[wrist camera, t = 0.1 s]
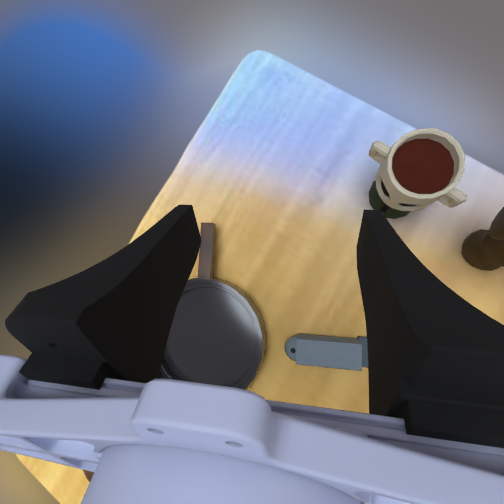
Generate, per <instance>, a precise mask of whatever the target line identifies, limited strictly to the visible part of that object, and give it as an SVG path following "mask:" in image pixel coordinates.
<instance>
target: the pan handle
mask: <svg viewBox="0 0 504 504" xmlns="http://www.w3.org/2000/svg"><path fill="white" fill-rule="evenodd" d="M200 237H201V244H200V252H199V269H198V279H206V280H207V279H208V280H209V279H212V273H213V255H214V238H215V224H214V223H201V236H200Z"/></svg>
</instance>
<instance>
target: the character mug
mask: <svg viewBox="0 0 504 504" xmlns="http://www.w3.org/2000/svg"><path fill="white" fill-rule="evenodd" d="M369 156H370V157H371V158H372V159H373V160H375V161H377V162H378V163H380V164H381V166H380V168H379V170H378V172H377V174H376V180H375V181H374V182H373V185H372V187H371V189H370V191H369V202H370V204H371V206H372V208H373V209H374V210H379V209H381V210H382V211H384V212H385V213H384V216H385V217H386V218H393V219H395V218H399V217H403V216H406V215H407V214H408V213H410V212H411V211H416V210H420V209H423V208H425V207H426V206H428V205H430V204H432V203H433V202H435V201H436V200H438V201H440V202H441V203H443V204H444V205H446V206H448V207H455V206H457V205H459V204H461V203H463V202H465V201H466V198H467V195H465V194H464V193H463V192H461V191H460V190H458V189H457V188H455V186H456V185H457V184H458V183H459V181H460V179H461V177H462V175H463V173H464V171H465V155H464V153H463V150H462V148H461V146H460V143H459V142H458V141H456V140H455V139H454V138H453V137H452V136H451V135H450V134H449V133H446V132H443V131H440V130H437V129H434V128H433V129H417V130H415V131H412V132H410V133H407V134H405V135H404V136H402V137H401V138H400V139H399V140H398V141H397V142H396V143H395V144H394V145H393V146H392V147H391V148H390V147H389V146H387V145H386V144H384V143H382V142H380V141H376V142H374V143H373V144H372V146H371V148H370V150H369Z"/></svg>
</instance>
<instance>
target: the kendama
mask: <svg viewBox="0 0 504 504" xmlns="http://www.w3.org/2000/svg"><path fill="white" fill-rule="evenodd" d="M463 255H464V257H465V259H466V261H468V262H469V263H470V264H471V265H472V266H474V267H476V268H478V269H481V270H490V271H492V270H494V269H497V268H500V267H501V266H504V207H503V208H502V209H501V211H500V212H499V213H498V214H497V216H496V217H495V219H494V220H493V222H492V224H491V227H490V229H489V230H479V231H476V232H474V233H472V234H471V235H470V236H469V237H468V238H467V239H466V240H465V242H464V244H463Z"/></svg>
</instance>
